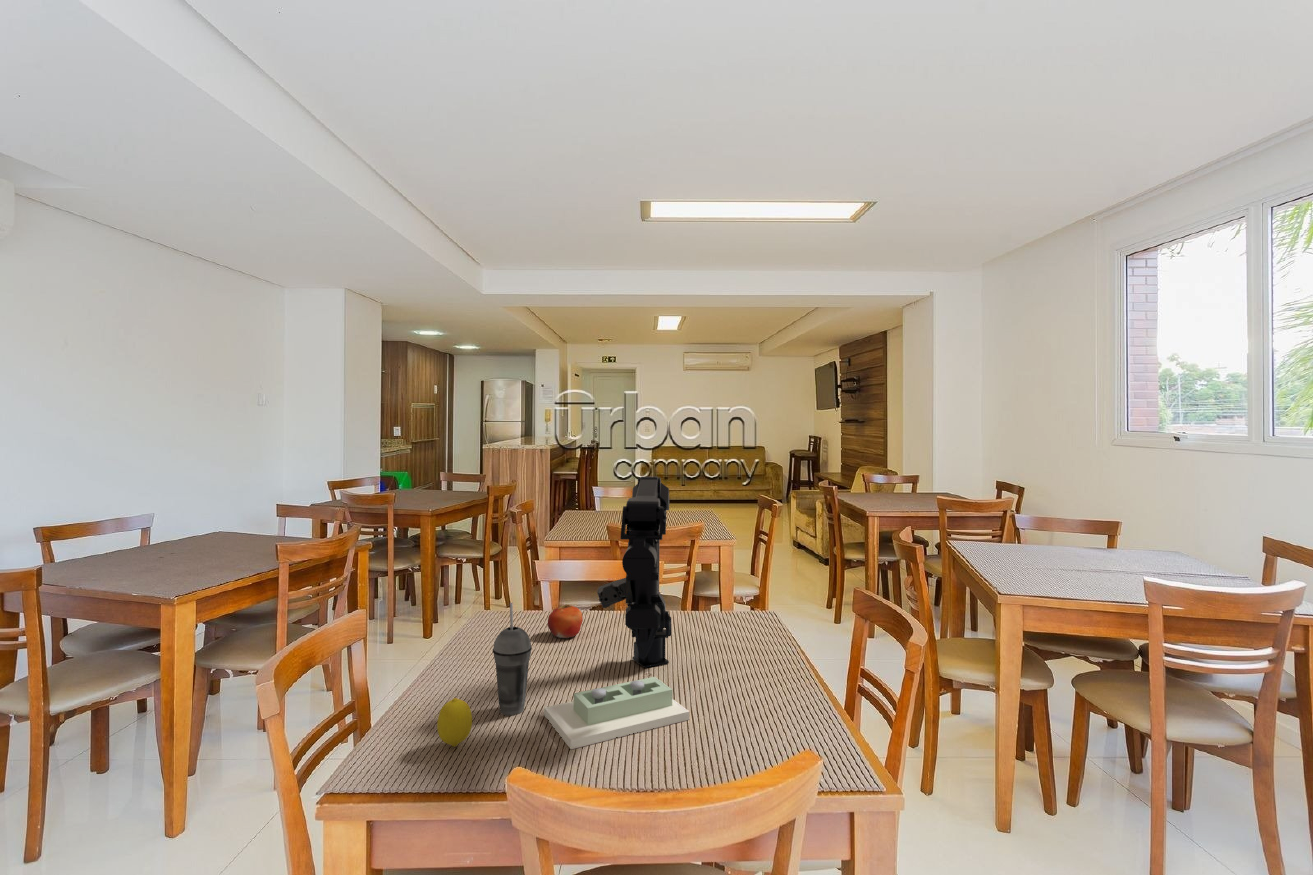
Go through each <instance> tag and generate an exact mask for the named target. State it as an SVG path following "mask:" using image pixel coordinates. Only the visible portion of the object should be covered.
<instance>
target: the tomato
mask: <svg viewBox="0 0 1313 875" xmlns="http://www.w3.org/2000/svg"><path fill="white" fill-rule="evenodd" d="M583 618H584V617H583V612H582V611H581V609H580V608H578V607H576V606H573V605H571V604H565V605H559V606H558V607H556V608H554V609H553V610H552V611H551V612H550V614H549V615H548V618H547V627H548V629H549V631H550V632H551V634H552V635H553V636H555V637H556V638H559V639H569V638H573V637H575V636H576V635H578V634H579V633H580V631H581V628H582V625H583V621H584V619H583Z"/></svg>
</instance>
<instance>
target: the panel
mask: <svg viewBox="0 0 1313 875" xmlns="http://www.w3.org/2000/svg"><path fill="white" fill-rule="evenodd" d="M632 681H633V680H630V681H627V682H622V683H618V684H611V685H608V686H602V687H601V688H602V689H605V690H606V697H604V698H603V702H602V703H597V704H595V698H593V697H592V690H594V689H595V688H593V689H588V690H584V691H579V692H573V701H574V706H573V710H574V711H575V712H576V713H577V714H578V715H579V716H580V717H581V719H582V720H583V721H584V722H585V723H586V724H587V725H592V724H596V723H601V722H605V721H609V720H613V719H618V718H622V717H626V716H630V715H635V714H639V713H643V712H647V711H652V710H656V709H660V708H664V707H669V706H672V699H673V689H672V688H671V687H669V686H668V685H667V684H665V683H664V682H663V681H662V680H660V679H658V678H657V677H656V676H651V677H645V678H642V679H636V680H635V681H643V682H644V689H642V694H638V695H634V696H633V690H632V689H631V688H630V683H631V682H632Z"/></svg>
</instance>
